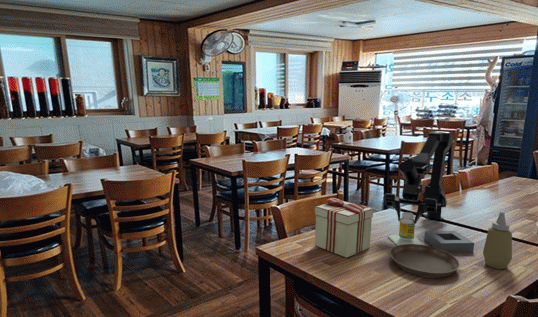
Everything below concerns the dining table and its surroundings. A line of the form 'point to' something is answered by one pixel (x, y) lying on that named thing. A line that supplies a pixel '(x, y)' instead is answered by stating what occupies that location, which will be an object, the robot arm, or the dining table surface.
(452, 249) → the holder
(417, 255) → the plant saucer
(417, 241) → the tile
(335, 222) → the gift box
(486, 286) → the dining table surface
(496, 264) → the squeeze bottle
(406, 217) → the supplement bottle
